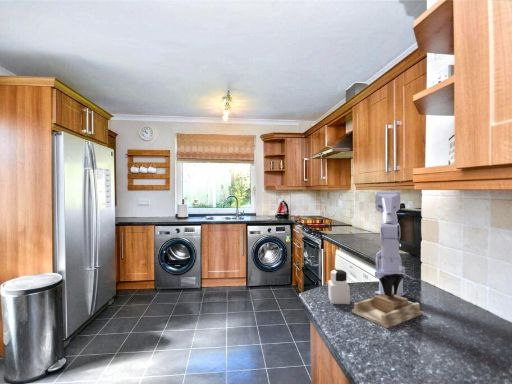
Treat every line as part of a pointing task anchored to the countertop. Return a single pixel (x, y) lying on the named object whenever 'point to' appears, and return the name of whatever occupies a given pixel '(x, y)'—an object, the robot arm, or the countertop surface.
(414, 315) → the bay
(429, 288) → the countertop surface
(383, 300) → the block with knob
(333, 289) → the medicine bottle
